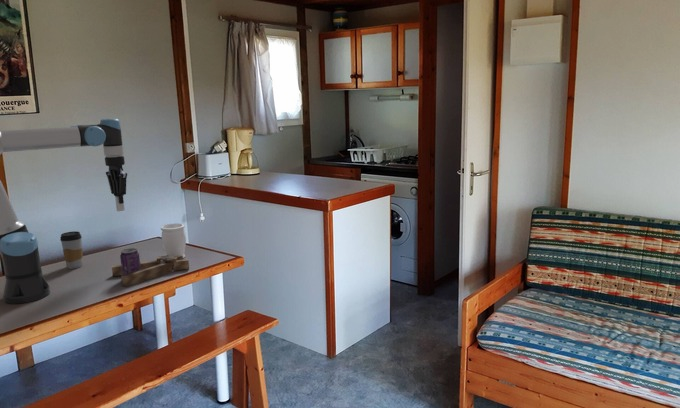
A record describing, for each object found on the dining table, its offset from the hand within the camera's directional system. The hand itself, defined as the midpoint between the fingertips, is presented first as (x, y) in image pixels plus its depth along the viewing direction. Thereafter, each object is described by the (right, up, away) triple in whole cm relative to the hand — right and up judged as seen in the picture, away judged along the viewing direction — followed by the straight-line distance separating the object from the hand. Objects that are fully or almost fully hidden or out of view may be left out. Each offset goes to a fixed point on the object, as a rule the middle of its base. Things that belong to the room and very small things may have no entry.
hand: (120, 210), depth 226 cm
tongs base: (+18, -26, -9) cm, 33 cm away
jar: (+20, -22, +13) cm, 32 cm away
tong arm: (+15, -25, -6) cm, 30 cm away
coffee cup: (-22, -25, +5) cm, 34 cm away
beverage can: (+10, -28, -13) cm, 32 cm away
